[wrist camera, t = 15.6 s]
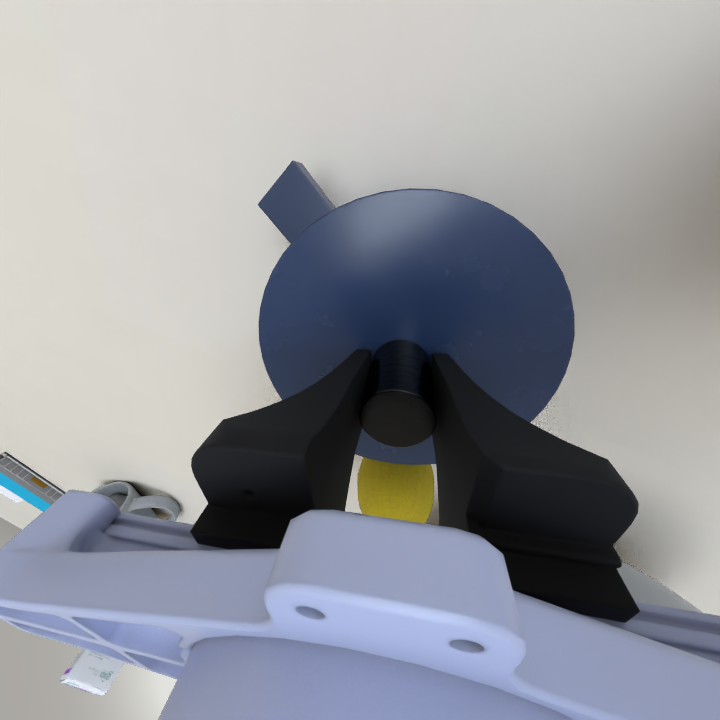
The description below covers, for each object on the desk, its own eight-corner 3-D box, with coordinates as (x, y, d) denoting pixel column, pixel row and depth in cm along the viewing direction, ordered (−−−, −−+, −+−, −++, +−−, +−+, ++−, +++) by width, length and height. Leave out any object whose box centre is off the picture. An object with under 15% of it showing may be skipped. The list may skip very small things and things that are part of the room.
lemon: (405, 470, 25) (402, 570, 18) (354, 442, 24) (332, 536, 17) (445, 437, 22) (459, 542, 15) (389, 404, 21) (378, 499, 15)
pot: (404, 74, 12) (400, 10, 8) (569, 366, 17) (617, 417, 13) (240, 262, 17) (188, 282, 13) (404, 438, 23) (403, 489, 19)
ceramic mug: (134, 515, 40) (80, 577, 33) (98, 479, 36) (30, 542, 29) (195, 518, 37) (150, 586, 31) (164, 481, 34) (105, 549, 27)
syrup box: (144, 563, 50) (56, 682, 38) (153, 555, 47) (62, 681, 35) (171, 577, 51) (96, 696, 39) (182, 570, 49) (105, 696, 36)
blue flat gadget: (-56, 449, 39) (-73, 459, 38) (-27, 430, 35) (-46, 440, 33) (66, 526, 47) (56, 536, 45) (103, 518, 42) (92, 529, 41)
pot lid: (374, 89, 8) (341, -7, 4) (636, 338, 11) (765, 418, 7) (231, 364, 15) (166, 423, 11) (414, 479, 18) (414, 561, 14)
